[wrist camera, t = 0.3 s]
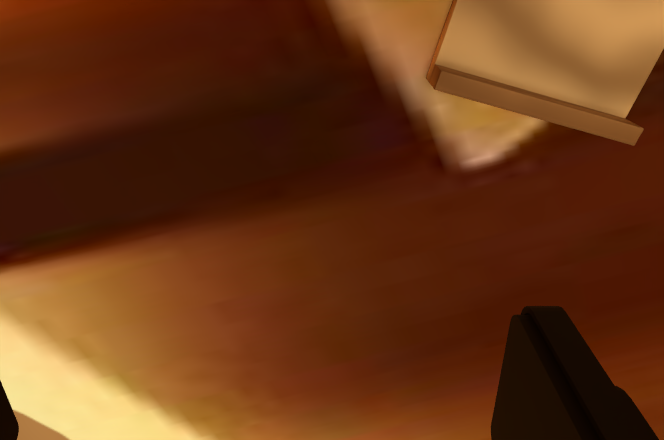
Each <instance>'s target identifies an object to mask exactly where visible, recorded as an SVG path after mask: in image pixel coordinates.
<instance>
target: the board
mask: <svg viewBox="0 0 664 440" xmlns="http://www.w3.org/2000/svg"><path fill="white" fill-rule="evenodd" d="M663 49H664V0H453V2H452V5H451V8H450V11H449V14H448V17H447V20H446V22H445V25H444V28H443V31H442V34H441V37H440V40H439V42H438V45H437V48H436V51H435V54H434V57H433V60H432V63H431V65H430V68H429V71H428V74H427V77H426V79H427V80H428V81H429V83H430V84H431V85H432V87H433V88H434V89H435V90H438V91H441V92H445V93H449V94H452V95H456V96H459V97H463V98H466V99H470V100H474V101H477V102H481V103H484V104H488V105H491V106H495V107H498V108H502V109H506V110H509V111H513V112H516V113H520V114H523V115H527V116H530V117H534V118H538V119H541V120H545V121H548V122H552V123H555V124H559V125H563V126H566V127H570V128H573V129H577V130H580V131H584V132H587V133H591V134H595V135H598V136H602V137H605V138H609V139H612V140H616V141H620V142H623V143H627V144H630V145H635V143H636V142H637V140H638V138H639V136H640V135H641V133H642V131H643V129H644V128H642V127H640V126H638V125H636V124H634V123H633V122H631V121H629V120H627V119H625V118H626V116H627V114H628V112H629V111H630V109H631V107H632V105H633V103H634V101H635V100H636V98H637V96H638V94H639V92H640V91H641V89H642V87H643V85H644V83H645V81H646V80H647V78H648V76H649V74H650V72H651V71H652V69H653V67H654V65H655V63H656V61H657V60H658V58H659V56H660V54H661V52H662V51H663Z"/></svg>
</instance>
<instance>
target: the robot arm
mask: <svg viewBox="0 0 664 440" xmlns="http://www.w3.org/2000/svg"><path fill="white" fill-rule="evenodd" d="M18 432H19V426H18V422H17V420H16V417H15V415H14V412H13V410H12V408H11V405H10V403H9V400H8V398H7V396H6V393H5V391H4V388H3V386H2V383H1V381H0V440H17V436H18ZM491 438H492V440H659V439H658V437H657V436H656V435H655V433H654V432H653V430H652V429H651V427H650V426H649V424H648V423H647V421H646V420H645V418H644V417H643V415H642V414H641V413H640V411H639V410H638V408H637V407H636V405H635V404H634V402H633V401H632V399H631V398H630V397H629V396H628V395H627V393H626V392H625V391H624V390H622V389H621V388H619V387H617V386H614V384H613V383H612V381H611V380H610V378H609V377H608V375H607V374H606V372H605V371H604V369H603V368H602V366H601V365H600V363H599V362H598V360H597V359H596V357H595V356H594V354H593V353H592V351H591V350H590V348H589V347H588V345H587V344H586V342H585V341H584V339H583V338H582V336H581V334H580V333H579V331H578V330H577V328H576V327H575V325H574V324H573V322H572V321H571V319H570V318H569V316H568V315H567V313H566V312H565V311H564V310H563V308H562V307H559V306H526V307H524V308H523V310H522V312H521V315H513V317H512V318H511V322H510V327H509V332H508V338H507V343H506V348H505V354H504V359H503V364H502V370H501V375H500V380H499V386H498V391H497V396H496V402H495V407H494V412H493V418H492V423H491Z"/></svg>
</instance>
